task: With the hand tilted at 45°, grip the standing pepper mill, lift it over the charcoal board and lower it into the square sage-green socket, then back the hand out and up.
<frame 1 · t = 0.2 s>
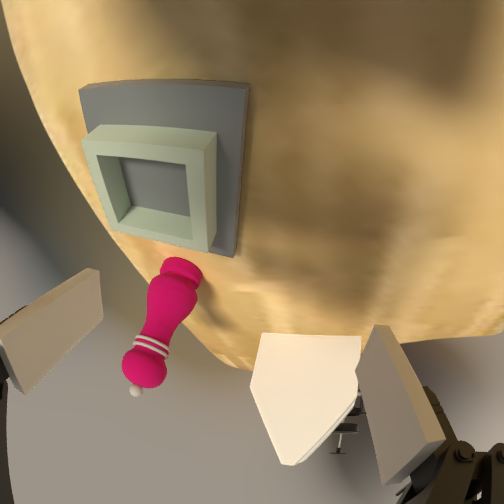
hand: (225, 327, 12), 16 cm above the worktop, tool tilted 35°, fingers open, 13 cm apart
pepper mill: (183, 268, 41), on the worktop
socket board: (165, 170, 26), on the worktop
white notched cradle block: (314, 347, 55), on the worktop
french press: (351, 370, 63), on the worktop
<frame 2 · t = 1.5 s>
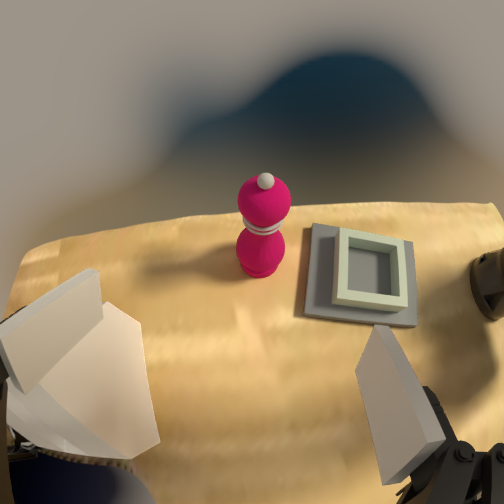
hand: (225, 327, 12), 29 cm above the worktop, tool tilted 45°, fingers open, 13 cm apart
pepper mill: (259, 261, 45), on the worktop
socket board: (364, 277, 44), on the worktop
white notched cradle block: (106, 385, 35), on the worktop
french press: (43, 427, 29), on the worktop
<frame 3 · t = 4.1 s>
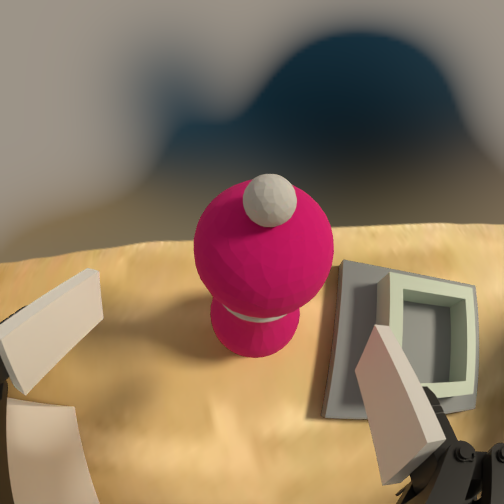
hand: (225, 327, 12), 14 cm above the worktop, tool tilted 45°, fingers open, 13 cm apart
pepper mill: (253, 325, 26), on the worktop
socket board: (414, 345, 25), on the worktop
white notched cradle block: (46, 472, 16), on the worktop
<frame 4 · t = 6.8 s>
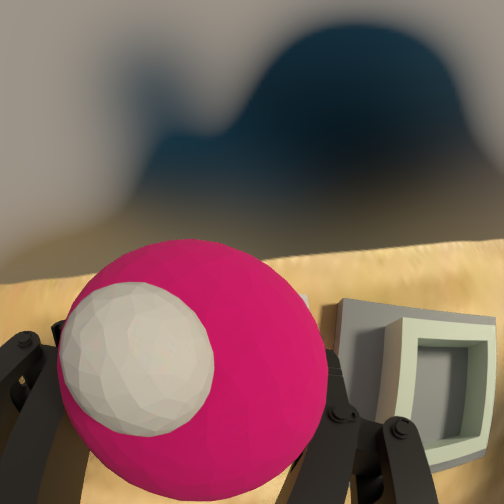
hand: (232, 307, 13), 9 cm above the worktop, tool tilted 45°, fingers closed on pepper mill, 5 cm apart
pepper mill: (227, 380, 20), on the worktop, touching gripper
socket board: (424, 395, 19), on the worktop
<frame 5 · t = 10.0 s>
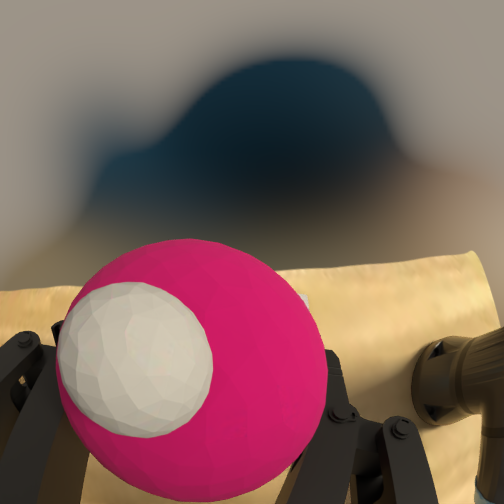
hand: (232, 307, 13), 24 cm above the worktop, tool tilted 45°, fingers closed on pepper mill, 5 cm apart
pepper mill: (227, 380, 20), point 15 cm above the worktop, touching gripper
when the fingers open (12 cm above the worktop, at t = 13.2 s): pepper mill drops 1 cm, resting on socket board.
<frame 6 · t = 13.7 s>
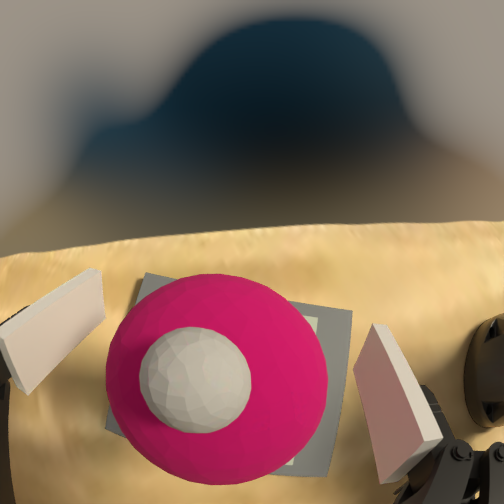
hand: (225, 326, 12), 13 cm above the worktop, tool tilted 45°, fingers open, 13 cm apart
pepper mill: (235, 382, 21), point 1 cm above the worktop, touching socket board
socket board: (229, 381, 22), on the worktop
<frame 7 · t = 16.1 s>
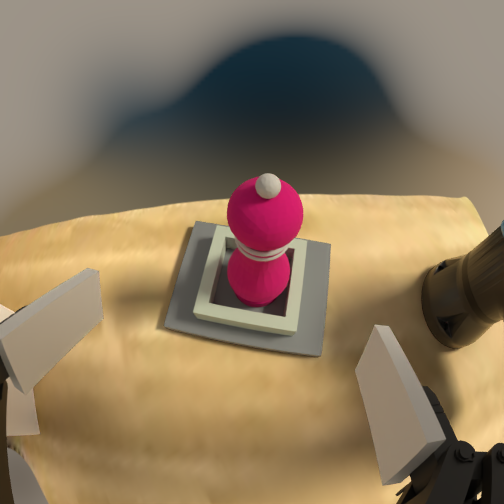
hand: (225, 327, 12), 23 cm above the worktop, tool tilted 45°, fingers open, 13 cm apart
pepper mill: (256, 285, 36), point 1 cm above the worktop, touching socket board
socket board: (252, 287, 37), on the worktop
white notched cradle block: (6, 374, 28), on the worktop
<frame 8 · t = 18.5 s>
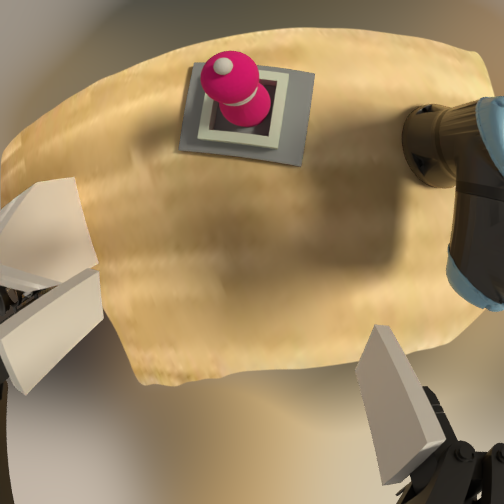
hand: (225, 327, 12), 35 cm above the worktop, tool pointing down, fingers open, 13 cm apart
pepper mill: (248, 109, 39), point 1 cm above the worktop, touching socket board
socket board: (246, 110, 40), on the worktop
white notched cradle block: (64, 228, 51), on the worktop
french press: (39, 274, 56), on the worktop
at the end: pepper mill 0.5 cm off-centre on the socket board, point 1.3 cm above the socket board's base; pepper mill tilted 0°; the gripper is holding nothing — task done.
